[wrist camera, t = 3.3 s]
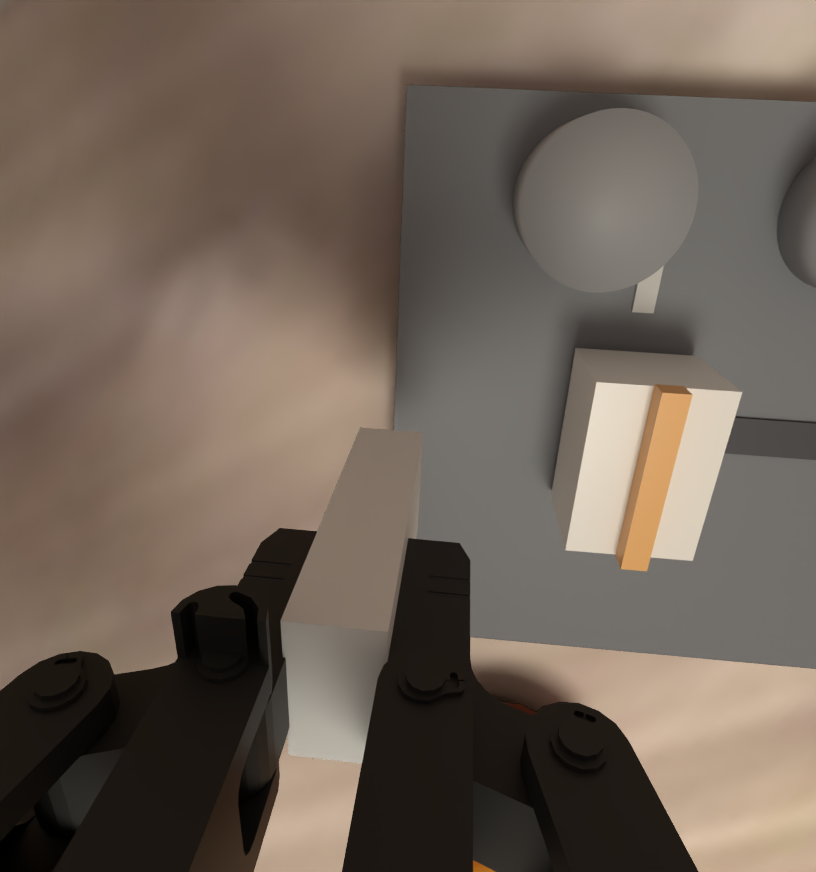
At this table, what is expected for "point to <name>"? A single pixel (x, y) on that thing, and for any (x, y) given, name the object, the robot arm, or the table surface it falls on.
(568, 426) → the fader
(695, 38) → the table surface
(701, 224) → the console
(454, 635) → the robot arm
